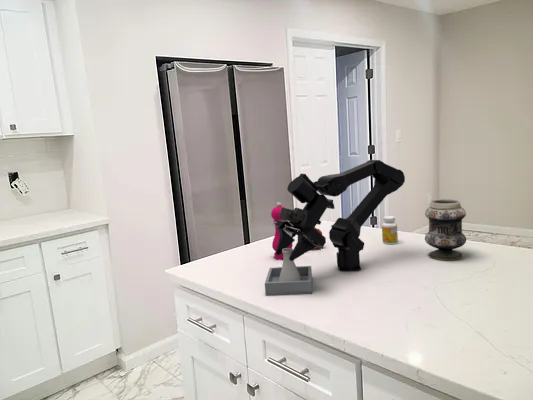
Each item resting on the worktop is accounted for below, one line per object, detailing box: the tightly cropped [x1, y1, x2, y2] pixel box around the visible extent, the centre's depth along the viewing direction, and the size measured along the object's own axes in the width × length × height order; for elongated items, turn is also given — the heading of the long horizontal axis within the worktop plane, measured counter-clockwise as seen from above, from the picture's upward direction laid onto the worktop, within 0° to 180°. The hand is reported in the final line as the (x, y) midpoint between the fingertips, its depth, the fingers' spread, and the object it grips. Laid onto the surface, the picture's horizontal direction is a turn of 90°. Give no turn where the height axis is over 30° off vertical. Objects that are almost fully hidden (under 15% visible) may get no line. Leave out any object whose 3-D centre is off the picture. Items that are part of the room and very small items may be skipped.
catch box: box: [264, 265, 313, 296], centre depth 114 cm, size 13×13×4 cm
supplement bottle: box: [381, 215, 399, 246], centre depth 146 cm, size 5×5×10 cm
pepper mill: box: [270, 201, 293, 261], centre depth 139 cm, size 7×7×20 cm
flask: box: [278, 247, 302, 282], centre depth 113 cm, size 7×7×10 cm
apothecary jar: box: [424, 198, 467, 261], centre depth 126 cm, size 12×12×18 cm
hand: (283, 257), depth 112 cm, fingers open, 7 cm apart
